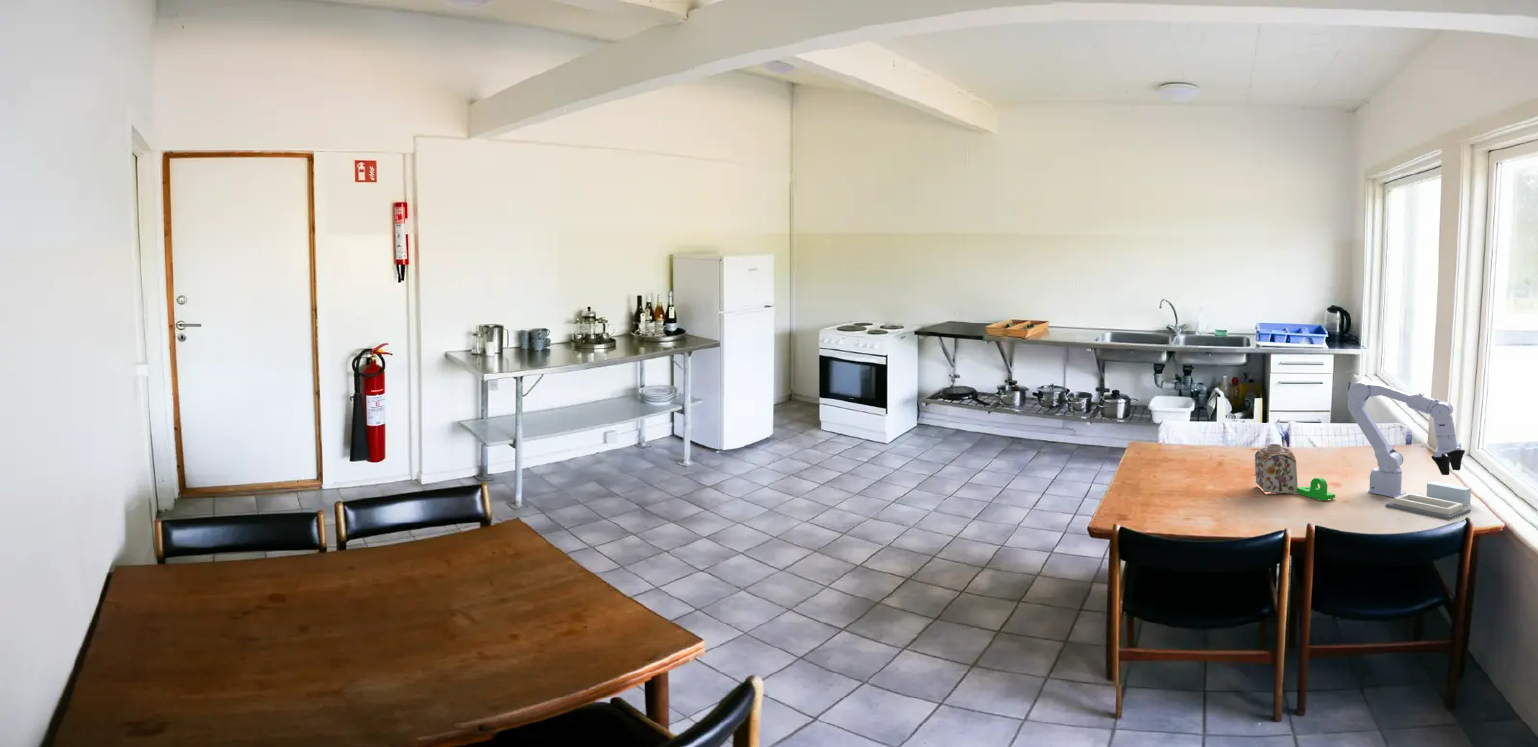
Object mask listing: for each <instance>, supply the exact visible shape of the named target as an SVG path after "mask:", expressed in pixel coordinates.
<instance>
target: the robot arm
mask: <svg viewBox="0 0 1538 747" xmlns="http://www.w3.org/2000/svg"><path fill="white" fill-rule="evenodd" d="M1379 396H1383V397H1386V398H1389V399H1393V400H1396V401H1399V402H1402V403H1405V404H1406V406H1407V407H1408V408H1410V409H1412V410H1415V411H1417V412H1420V413H1423V414H1426V415H1430V416H1431V418H1432V419H1433V428H1434V434H1435V435H1434V436H1435V441H1436V448H1435V450H1434V451H1433V455H1432V456H1431V459H1432V460H1433V462H1434V463H1435V464H1436V466H1437V468H1438V469H1439V471H1440V474H1441V476H1449V475H1450V467H1451V469H1452V470H1453V471H1460V470H1461V465H1462V460H1463V457H1464V454H1465V452H1466V450H1465V449H1462V444H1461V443H1460V442H1457V437H1456V429H1455V423H1454V421H1453V420H1454V418H1453V415H1452V414H1453V411H1454V407H1453V405H1452V404H1451V403H1450V402H1448V401H1447V400H1440V399H1438V398H1435V399H1434V398H1431V397H1429V396H1426V395H1425V393H1422V392H1419V393H1418V392H1414V393H1411V394H1409V393H1407V392H1404V391H1401V390H1398V389H1397V388H1394V387H1391V386H1389V385H1386V384H1383V383H1381V382H1378V381H1375V380H1370V379H1367V378H1362V379H1359V380H1358V381H1357V382H1354V383H1353V384H1352V385H1350V387H1349V389H1348V391H1347V410H1348V411H1349V413H1350V414H1351V416H1352V418H1353V419H1354V421H1355V422H1356V424H1357V425H1358V427H1359V429H1360V430H1361V432H1362V433H1363V435H1364V436H1365V437H1366V440H1367V441H1368V443H1369V444H1370V445H1371V447H1372V448H1373V451H1374V457H1375V459H1376V461H1377V466H1378V468H1377V467H1374V468H1373V469H1372V470H1371V472H1370V473H1369V490H1368V493H1371V494H1375V495H1380V496H1385V497H1390V498H1395V497H1398V496H1401V495H1404V494H1406V493H1407V492H1406V491H1402V479H1403V478H1402V477H1403V475H1402V474H1403V470H1402V468H1401V467H1400V466H1402V464H1403V463H1404V457H1403V456H1404V455H1402V453H1401V452H1398V450H1396V449H1395V447H1394V446H1392V445H1391V444H1390V443H1389V442H1388V441H1387V439H1386V438H1385V436H1384V434H1383V432H1382V431H1381V429H1380V428H1379V427H1378V425H1377V423H1376V422H1375V420H1374V419H1373V417H1372V415H1371V414H1370V413H1369V411H1368V410H1367V407H1366V404H1367V401H1368V400H1369V398H1370V397H1371V398H1373V397H1379Z"/></svg>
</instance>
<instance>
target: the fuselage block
mask: <svg viewBox="0 0 1538 747" xmlns="http://www.w3.org/2000/svg"><path fill="white" fill-rule="evenodd" d="M1471 490H1472V487H1466V486H1461V485H1456V484H1451V483H1446V482H1445V483H1444V482H1440V481H1435V480H1434V481H1433V480H1432V481H1429V482H1427V483H1426V497H1431V498H1436V499H1441V500H1446V501H1451V502H1457V503H1462V504H1463V507H1466V506H1468V504H1469V505H1470V504H1471V499H1472V498H1471V497H1472V496H1471V495H1472V491H1471ZM1465 505H1466V506H1465Z"/></svg>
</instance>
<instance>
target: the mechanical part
mask: <svg viewBox="0 0 1538 747" xmlns="http://www.w3.org/2000/svg"><path fill="white" fill-rule="evenodd" d="M1298 493H1299V495H1301V494H1302V496H1304V495H1305V496H1304V497H1307V496H1308V498H1311V497H1313V498H1312V499H1314V498H1316V499H1315V500H1317V499H1319V500H1318V501H1320V500H1322V501H1321V502H1324V501H1323V500H1328V499H1333V498H1335V499H1336V494H1335V493H1331V492H1328V483H1327V481H1326V480H1325V478H1323V477H1315V478H1312V479H1311V481H1310V486H1297V493H1296V494H1298ZM1328 501H1329V500H1328Z"/></svg>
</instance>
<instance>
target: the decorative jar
mask: <svg viewBox="0 0 1538 747" xmlns="http://www.w3.org/2000/svg"><path fill="white" fill-rule="evenodd" d="M1254 463H1255V464H1254V467H1255V468H1254V469H1255V470H1254V472H1255V484H1256V483H1257V484H1258V485H1259V486H1260V487H1261V488H1262V489H1263V490H1264V492H1271V493H1287V494H1298V493H1297V487H1298V472H1297V471H1298V470H1297V469H1298V468H1297V459H1296V456H1295V455H1294V452H1293V450H1291V449H1290V448H1287V447H1282V445H1281V444H1278V443H1269V444H1268V445H1267V447H1262V448H1260V449H1258V450H1257V451H1256V452H1255V453H1254Z"/></svg>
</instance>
